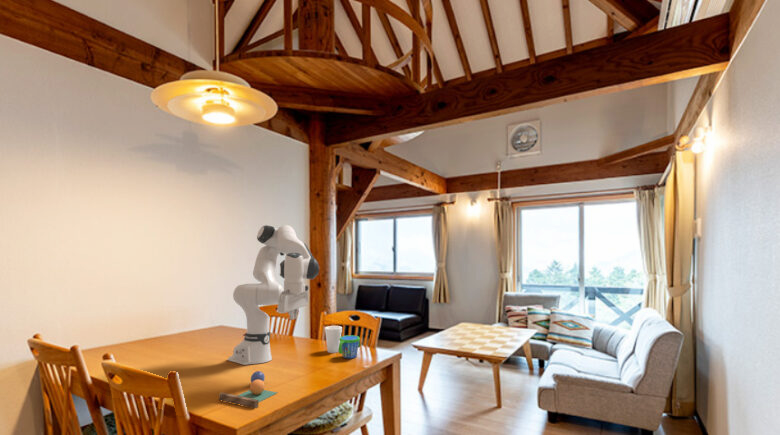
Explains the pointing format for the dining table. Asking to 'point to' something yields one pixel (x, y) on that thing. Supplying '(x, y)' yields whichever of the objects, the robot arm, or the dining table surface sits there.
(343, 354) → the snack cup
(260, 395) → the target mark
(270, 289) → the robot arm
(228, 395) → the rail
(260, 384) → the orange ball
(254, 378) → the blue ball
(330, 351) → the foam cup
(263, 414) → the dining table surface
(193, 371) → the dining table surface
